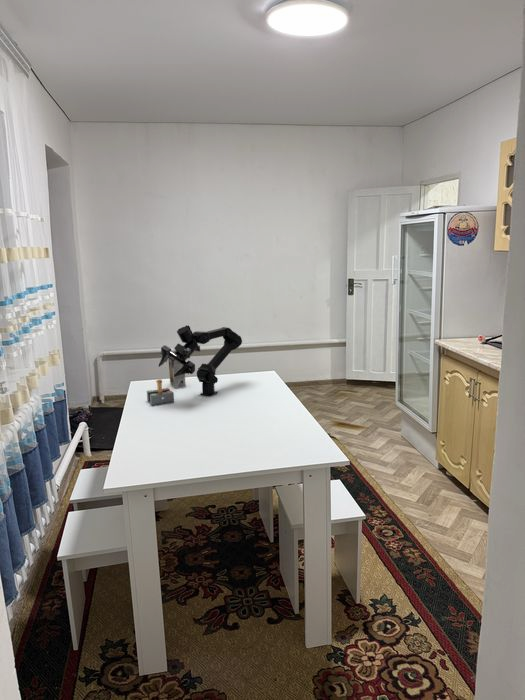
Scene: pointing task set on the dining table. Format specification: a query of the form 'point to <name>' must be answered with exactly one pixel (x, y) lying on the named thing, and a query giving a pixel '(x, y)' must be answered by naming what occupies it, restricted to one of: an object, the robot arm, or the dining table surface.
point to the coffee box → (173, 369)
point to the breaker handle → (159, 385)
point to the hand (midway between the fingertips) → (166, 371)
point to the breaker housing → (160, 397)
